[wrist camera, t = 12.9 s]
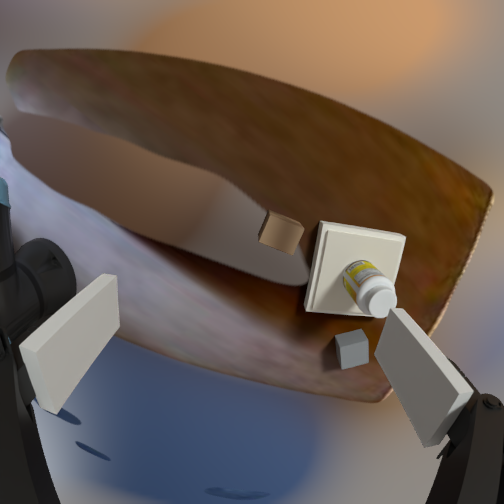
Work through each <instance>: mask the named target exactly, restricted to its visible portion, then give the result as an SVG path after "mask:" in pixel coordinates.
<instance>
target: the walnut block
mask: <svg viewBox="0 0 504 504" xmlns="http://www.w3.org/2000/svg"><path fill="white" fill-rule="evenodd" d="M303 231H304V228H303V227H302V225H301V224H300V223H299V222H297V221H295V220H292V219H290V218H288V217H285V216H283V215H281V214H278V213H276V212H273V211H271V210H268V212H267V215H266V217H265V219H264V222H263V224H262V227H261V229H260V231H259V233H258V236H259V242H260V243H262V244H265V245H267V246H270V247H272V248H275V249H277V250H280V251H282V252H285V253H287V254H290V255H293V253H294V251H295V249H296V247H297V245H298V242H299V240H300V238H301V236H302V234H303Z"/></svg>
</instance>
